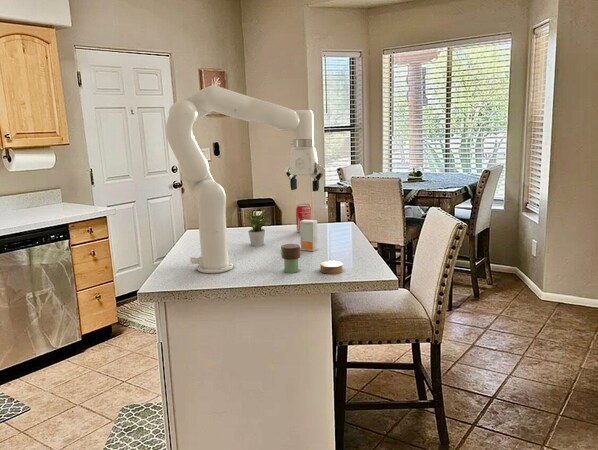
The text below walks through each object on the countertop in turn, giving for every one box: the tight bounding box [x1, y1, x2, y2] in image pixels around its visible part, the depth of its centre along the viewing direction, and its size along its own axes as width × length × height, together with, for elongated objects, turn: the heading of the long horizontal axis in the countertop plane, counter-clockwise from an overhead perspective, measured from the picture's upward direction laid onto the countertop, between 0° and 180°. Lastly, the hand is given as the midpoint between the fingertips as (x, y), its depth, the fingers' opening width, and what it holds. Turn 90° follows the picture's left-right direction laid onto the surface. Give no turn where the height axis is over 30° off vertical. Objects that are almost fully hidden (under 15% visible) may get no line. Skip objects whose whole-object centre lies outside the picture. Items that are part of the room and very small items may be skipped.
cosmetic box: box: [299, 219, 319, 252], centre depth 207 cm, size 6×4×12 cm
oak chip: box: [319, 260, 343, 275], centre depth 177 cm, size 8×8×2 cm
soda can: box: [295, 203, 312, 234], centre depth 240 cm, size 7×7×13 cm
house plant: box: [239, 206, 271, 247], centre depth 216 cm, size 14×14×16 cm
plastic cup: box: [283, 258, 299, 274], centre depth 178 cm, size 5×5×5 cm
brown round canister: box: [280, 243, 301, 260], centre depth 177 cm, size 7×7×4 cm
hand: (304, 190), depth 192 cm, fingers open, 9 cm apart
